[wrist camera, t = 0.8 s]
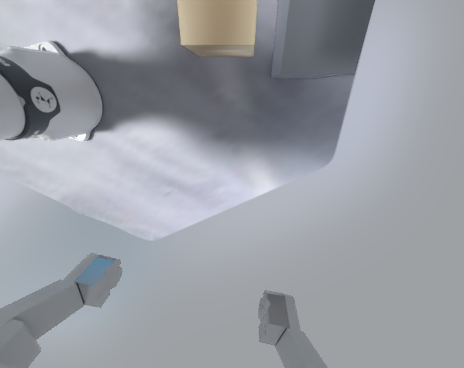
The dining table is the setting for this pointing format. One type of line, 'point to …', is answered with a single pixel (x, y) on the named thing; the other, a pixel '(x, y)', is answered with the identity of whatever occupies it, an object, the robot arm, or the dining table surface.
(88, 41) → the dining table surface
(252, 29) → the mallet
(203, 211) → the dining table surface
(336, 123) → the dining table surface
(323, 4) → the storage box
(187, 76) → the dining table surface
